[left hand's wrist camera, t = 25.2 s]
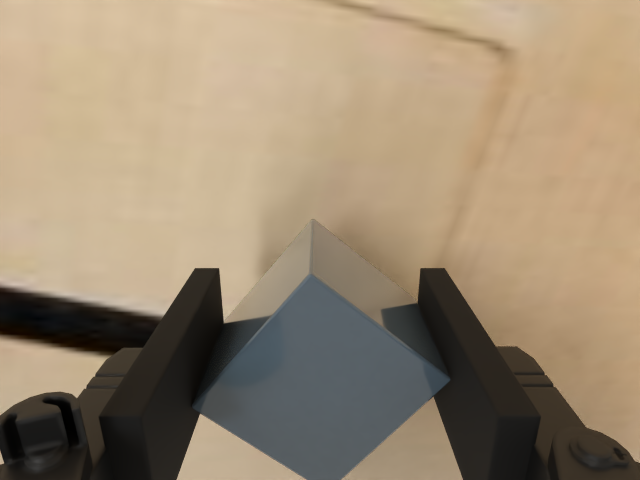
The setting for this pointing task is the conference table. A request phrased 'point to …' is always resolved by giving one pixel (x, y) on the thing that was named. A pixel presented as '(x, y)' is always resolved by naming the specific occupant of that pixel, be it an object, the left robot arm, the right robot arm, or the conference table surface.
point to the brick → (320, 360)
